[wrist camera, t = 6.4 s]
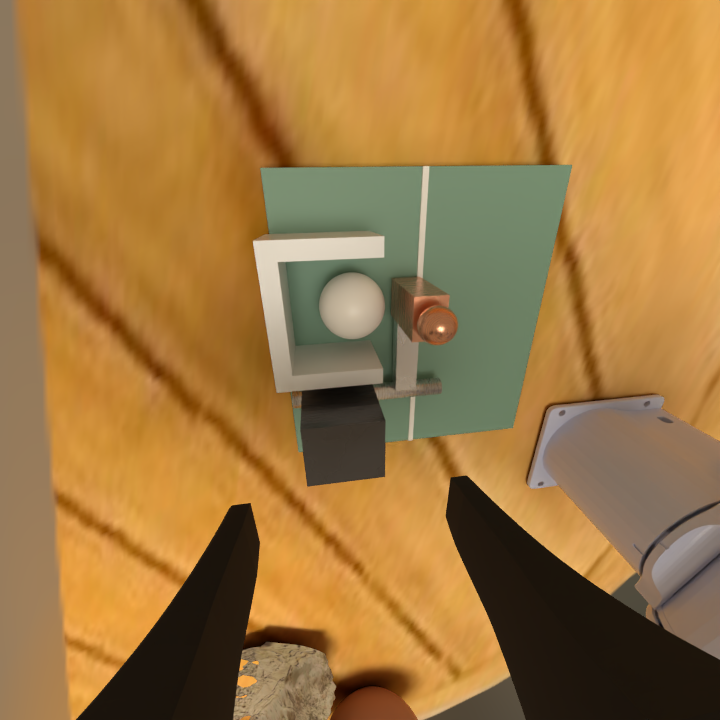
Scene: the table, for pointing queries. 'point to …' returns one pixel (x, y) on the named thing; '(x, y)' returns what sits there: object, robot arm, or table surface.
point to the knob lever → (373, 391)
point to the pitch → (433, 273)
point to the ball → (351, 305)
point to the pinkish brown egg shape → (373, 706)
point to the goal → (291, 362)
